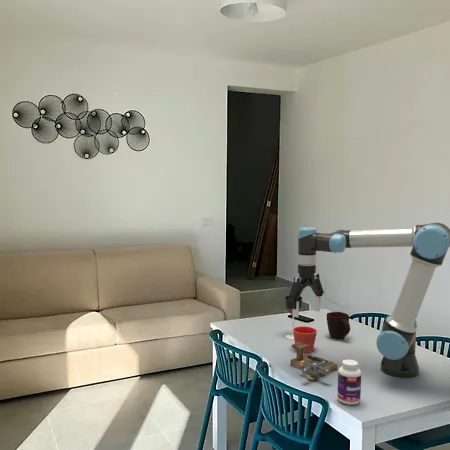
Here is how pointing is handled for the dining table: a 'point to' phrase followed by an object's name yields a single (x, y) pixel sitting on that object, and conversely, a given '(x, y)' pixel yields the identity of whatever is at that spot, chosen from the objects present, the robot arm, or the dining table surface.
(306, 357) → the level stand
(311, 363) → the capstan
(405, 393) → the dining table surface
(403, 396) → the dining table surface
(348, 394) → the pill bottle
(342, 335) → the cup
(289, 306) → the wineglass
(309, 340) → the flower pot
